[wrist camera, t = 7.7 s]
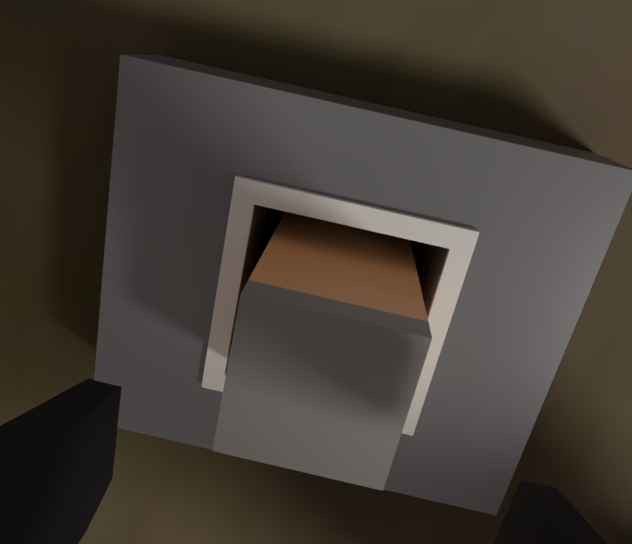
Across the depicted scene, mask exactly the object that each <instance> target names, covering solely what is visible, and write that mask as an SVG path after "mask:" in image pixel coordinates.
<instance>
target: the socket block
mask: <svg viewBox="0 0 632 544" xmlns="http://www.w3.org/2000/svg"><path fill="white" fill-rule="evenodd" d="M631 191H632V168H629V167H627V166H625V165H622V164H620V163H617V162H615V161H613V160H610V159H608V158H605V157H603V156H601V155H598V154H596V153H593V152H588V151H584V150H579V149H575V148H571V147H566V146H562V145H557V144H553V143H548V142H544V141H540V140H535V139H531V138H526V137H522V136H517V135H513V134H509V133H504V132H500V131H495V130H491V129H487V128H482V127H478V126H473V125H469V124H464V123H460V122H456V121H451V120H447V119H442V118H438V117H433V116H429V115H425V114H420V113H416V112H411V111H407V110H403V109H398V108H394V107H389V106H385V105H380V104H376V103H372V102H367V101H363V100H358V99H354V98H349V97H345V96H341V95H336V94H332V93H327V92H323V91H319V90H314V89H310V88H305V87H301V86H296V85H292V84H288V83H283V82H279V81H274V80H270V79H265V78H261V77H257V76H252V75H248V74H243V73H239V72H235V71H230V70H226V69H221V68H217V67H212V66H208V65H204V64H199V63H195V62H190V61H186V60H182V59H177V58H173V57H168V56H164V55H133V54H120V64H119V76H118V89H117V101H116V113H115V126H114V138H113V151H112V163H111V175H110V188H109V200H108V212H107V225H106V237H105V250H104V262H103V274H102V287H101V299H100V311H99V324H98V336H97V349H96V361H95V373H94V380H95V381H100V382H104V383H108V384H112V385H117V386H121V387H122V389H121V398H120V408H119V417H118V426H117V428H120V429H124V430H128V431H133V432H137V433H141V434H146V435H150V436H154V437H159V438H163V439H167V440H172V441H176V442H180V443H185V444H189V445H193V446H197V447H202V448H206V449H210V450H213V444H214V439H215V433H216V428H217V422H218V417H219V411H220V406H221V400H222V394H223V389H224V383H225V378H226V372H227V367H228V361H229V356H230V350H231V345H232V339H233V333H234V328H235V322H236V317H237V311H238V306H239V300H240V295H241V292H242V291H243V289H244V287H245V285H246V283H247V281H248V279H249V278H250V276H251V274H252V272H253V270H254V268H255V267H256V265H257V263H258V259H259V254H260V249H261V243H262V238H263V232H264V227H265V222H266V216H267V211H268V208H272V209H277V210H281V211H285V212H290V213H294V214H298V215H303V216H307V217H312V218H316V219H320V220H325V221H329V222H334V223H338V224H342V225H347V226H351V227H355V228H360V229H364V230H369V231H373V232H377V233H382V234H386V235H391V236H395V237H399V238H404V239H408V240H413V241H417V242H421V243H426V244H428V247H427V250H426V254H425V257H424V261H423V264H422V267H421V271H420V274H419V277H418V278H419V282H420V287H421V291H422V295H423V300H424V304H425V309H426V313H427V318H428V322H429V326H430V331H431V335H432V340H431V344H430V347H429V350H428V353H427V356H426V359H425V362H424V365H423V368H422V371H421V375H420V378H419V381H418V384H417V387H416V390H415V393H414V396H413V399H412V402H411V406H410V409H409V412H408V415H407V418H406V421H405V424H404V427H403V430H402V434H401V437H400V440H399V443H398V446H397V449H396V452H395V455H394V458H393V461H392V465H391V468H390V471H389V474H388V477H387V480H386V483H385V486H384V489H383V490H388V491H392V492H396V493H401V494H405V495H409V496H414V497H418V498H422V499H427V500H431V501H435V502H440V503H444V504H448V505H453V506H457V507H461V508H466V509H470V510H474V511H479V512H483V513H487V514H492V515H497V513H498V510H499V508H500V505H501V503H502V501H503V498H504V496H505V493H506V491H507V489H508V486H509V484H510V481H511V479H512V477H513V474H514V472H515V469H516V467H517V465H518V462H519V460H520V458H521V455H522V453H523V450H524V448H525V446H526V443H527V441H528V438H529V436H530V434H531V431H532V429H533V426H534V424H535V422H536V419H537V417H538V414H539V412H540V410H541V407H542V405H543V402H544V400H545V398H546V395H547V393H548V390H549V388H550V386H551V383H552V381H553V378H554V376H555V374H556V371H557V369H558V366H559V364H560V362H561V359H562V357H563V354H564V352H565V350H566V347H567V345H568V342H569V340H570V338H571V335H572V333H573V330H574V328H575V326H576V323H577V321H578V318H579V316H580V314H581V311H582V309H583V306H584V304H585V302H586V299H587V297H588V294H589V292H590V290H591V287H592V285H593V282H594V280H595V278H596V275H597V273H598V270H599V268H600V266H601V263H602V261H603V258H604V256H605V254H606V251H607V249H608V247H609V244H610V242H611V239H612V237H613V235H614V232H615V230H616V227H617V225H618V223H619V220H620V218H621V215H622V213H623V211H624V208H625V206H626V203H627V201H628V199H629V196H630V194H631Z"/></svg>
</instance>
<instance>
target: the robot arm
mask: <svg viewBox="0 0 632 544" xmlns="http://www.w3.org/2000/svg"><path fill="white" fill-rule="evenodd" d="M121 389H122V387H121V386H117V385H112V384H108V383H104V382H100V381H95V380H91V379H87V380H85V381H83V382H81V383H79V384H77V385H75V386H73V387H72V388H70V389H68V390H66V391H64V392H62V393H61V394H59V395H57V396H55V397H53V398H52V399H50V400H48V401H46V402H44V403H42V404H41V405H39V406H37V407H35V408H33V409H31V410H30V411H28V412H26V413H24V414H22V415H20V416H18V417H16V418H14V419H13V420H11V421H9V422H7V423H5V424H3V425H1V426H0V544H78V543H79V541H80V540H81V538H82V537H83V535H84V533H85V532H86V530H87V528H88V526H89V524H90V522H91V520H92V518H93V516H94V514H95V512H96V510H97V508H98V506H99V504H100V502H101V500H102V498H103V496H104V494H105V492H106V490H107V488H108V486H109V484H110V481H111V479H112V474H113V464H114V455H115V445H116V436H117V426H118V417H119V408H120V398H121ZM494 544H606V543H605V542H604V541H603V539H602V538H601V537H600V536H599V535H598V534H597V533H596V532H595V530H594V529H593V528H592V527H591V526H590V525H589V524H588V523H587V521H586V520H585V519H584V518H583V517H582V516H581V515H580V514H579V512H578V511H577V510H576V509H575V508H574V507H573V506H572V505H571V504H570V503H569V502H568V501H567V499H566V498H565V497H564V496H563V495H562V494H561V493H560V492H559V491H558V490H557V489H556V488H552V487H548V486H544V485H539V484H535V483H531V482H527V481H522V480H521V482H520V485H519V487H518V489H517V492H516V494H515V496H514V499H513V501H512V503H511V506H510V508H509V510H508V513H507V515H506V517H505V520H504V522H503V524H502V527H501V529H500V531H499V534H498V536H497V538H496V541H495V543H494Z"/></svg>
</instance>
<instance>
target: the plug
mask: <svg viewBox="0 0 632 544" xmlns="http://www.w3.org/2000/svg"><path fill="white" fill-rule="evenodd" d="M431 340H432V335H431V331H430V326H429V322H428V318H427V313H426V309H425V304H424V300H423V295H422V291H421V287H420V282H419V278H418V273H417V269H416V265H415V260H414V256H413V251H412V247H411V242H410V240H408V239H404V238H399V237H395V236H391V235H386V234H382V233H377V232H373V231H369V230H364V229H360V228H355V227H351V226H347V225H342V224H338V223H334V222H329V221H325V220H320V219H316V218H312V217H307V216H303V215H298V214H294V213H290V212H285V213H284V215H283V217H282V219H281V221H280V223H279V224H278V226H277V228H276V230H275V232H274V234H273V235H272V237H271V239H270V241H269V243H268V245H267V246H266V248H265V250H264V252H263V254H262V256H261V257H260V259H259V261H258V263H257V265H256V267H255V268H254V270H253V272H252V274H251V276H250V278H249V279H248V281H247V283H246V285H245V287H244V289H243V291H242V292H241V295H240V300H239V306H238V311H237V317H236V322H235V328H234V333H233V339H232V345H231V350H230V356H229V361H228V367H227V372H226V378H225V383H224V389H223V394H222V400H221V406H220V411H219V417H218V422H217V428H216V433H215V439H214V444H213V450H212V451H214V452H219V453H223V454H227V455H231V456H236V457H240V458H244V459H249V460H253V461H257V462H261V463H266V464H270V465H274V466H279V467H283V468H287V469H291V470H296V471H300V472H304V473H309V474H313V475H317V476H321V477H326V478H330V479H334V480H339V481H343V482H347V483H351V484H356V485H360V486H364V487H369V488H373V489H377V490H381V491H383V489H384V486H385V483H386V480H387V477H388V474H389V471H390V468H391V465H392V461H393V458H394V455H395V452H396V449H397V446H398V443H399V440H400V437H401V434H402V430H403V427H404V424H405V421H406V418H407V415H408V412H409V409H410V406H411V402H412V399H413V396H414V393H415V390H416V387H417V384H418V381H419V378H420V375H421V371H422V368H423V365H424V362H425V359H426V356H427V353H428V350H429V347H430V344H431Z"/></svg>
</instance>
